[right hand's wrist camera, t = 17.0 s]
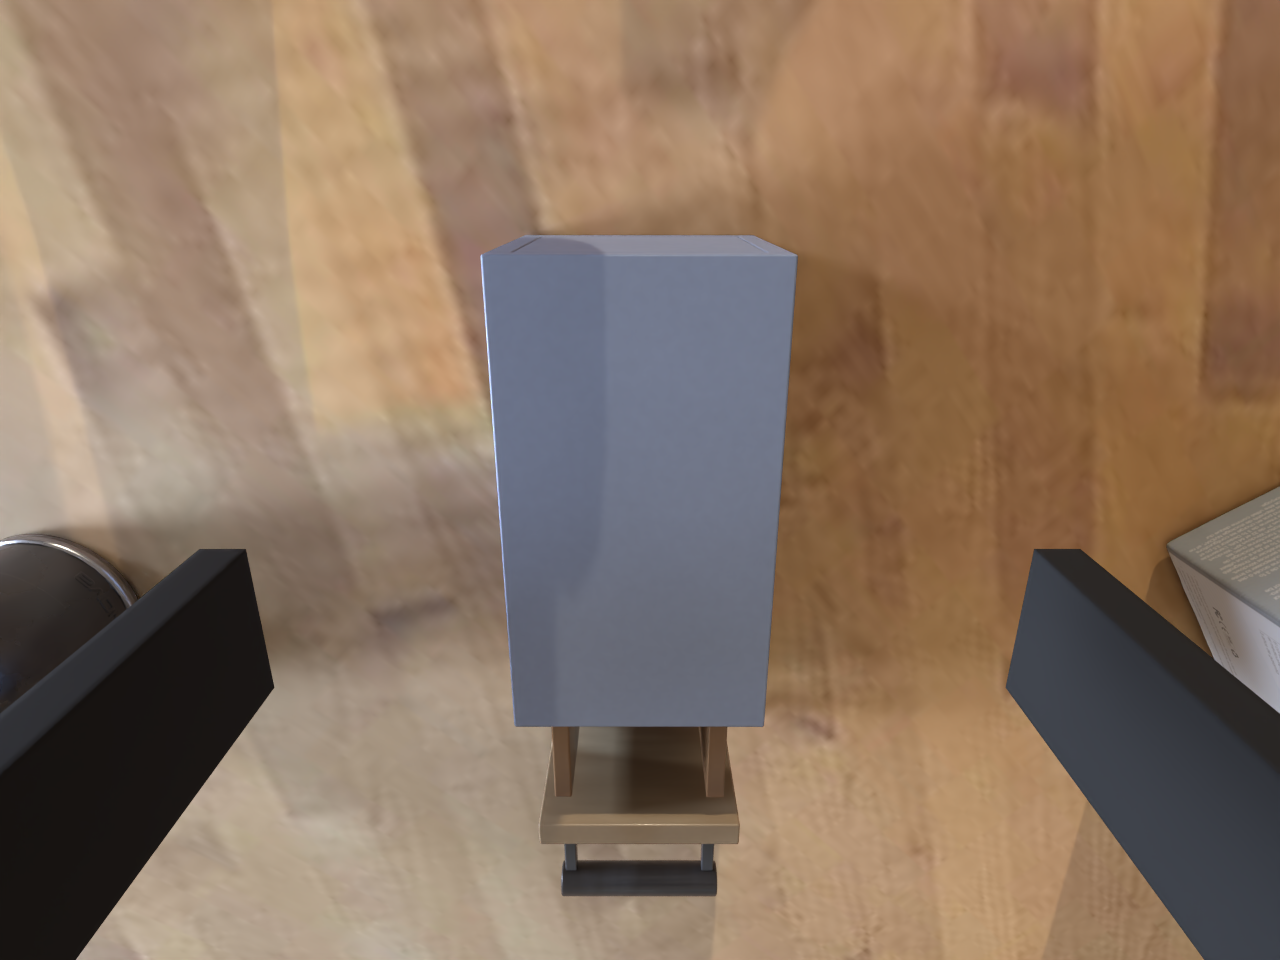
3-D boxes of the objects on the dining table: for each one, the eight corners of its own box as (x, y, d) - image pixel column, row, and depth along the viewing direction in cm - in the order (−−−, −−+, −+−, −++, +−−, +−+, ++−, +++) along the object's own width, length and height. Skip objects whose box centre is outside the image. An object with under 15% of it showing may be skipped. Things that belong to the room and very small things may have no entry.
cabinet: (735, 602, 42) (764, 727, 32) (543, 602, 42) (514, 727, 32) (754, 235, 35) (798, 254, 25) (524, 235, 35) (479, 254, 25)
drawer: (716, 808, 46) (732, 938, 38) (561, 808, 46) (545, 937, 38) (735, 423, 37) (760, 488, 29) (543, 423, 37) (517, 488, 29)
